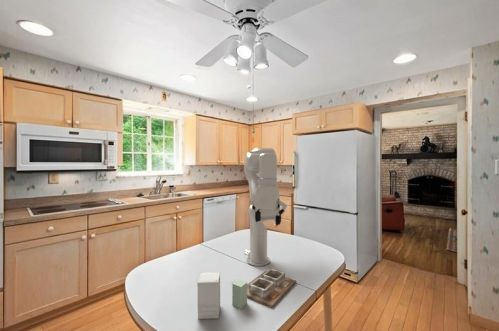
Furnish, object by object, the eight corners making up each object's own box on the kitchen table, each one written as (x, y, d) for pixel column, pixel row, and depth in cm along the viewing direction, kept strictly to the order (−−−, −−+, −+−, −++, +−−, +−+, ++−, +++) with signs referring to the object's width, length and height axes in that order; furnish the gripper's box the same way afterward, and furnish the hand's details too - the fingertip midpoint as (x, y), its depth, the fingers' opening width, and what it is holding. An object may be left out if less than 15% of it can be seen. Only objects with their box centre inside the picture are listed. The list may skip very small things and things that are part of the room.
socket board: (237, 293, 92) (237, 283, 92) (265, 272, 110) (265, 264, 110) (271, 308, 82) (271, 297, 82) (296, 282, 100) (296, 273, 100)
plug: (232, 305, 84) (232, 283, 84) (238, 299, 87) (239, 279, 87) (240, 308, 82) (240, 287, 82) (247, 303, 85) (247, 282, 85)
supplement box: (220, 305, 84) (220, 271, 84) (218, 319, 76) (218, 282, 76) (200, 305, 84) (201, 272, 84) (196, 319, 76) (197, 282, 76)
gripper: (246, 182, 96) (245, 221, 96) (282, 184, 86) (282, 228, 86) (255, 181, 102) (255, 218, 102) (290, 182, 93) (290, 224, 93)
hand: (267, 222), depth 94 cm, fingers open, 9 cm apart
